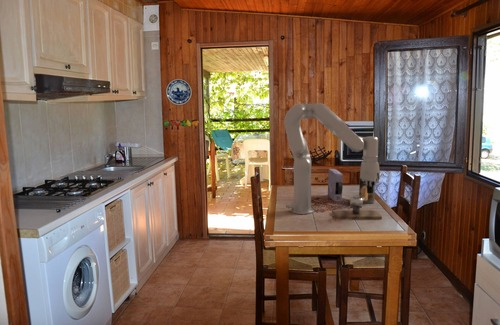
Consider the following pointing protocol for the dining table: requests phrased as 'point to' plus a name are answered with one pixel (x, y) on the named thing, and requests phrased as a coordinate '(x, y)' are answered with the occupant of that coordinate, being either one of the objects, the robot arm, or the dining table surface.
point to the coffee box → (371, 195)
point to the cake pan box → (335, 185)
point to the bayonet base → (356, 214)
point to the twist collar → (359, 198)
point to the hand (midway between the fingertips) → (370, 192)
